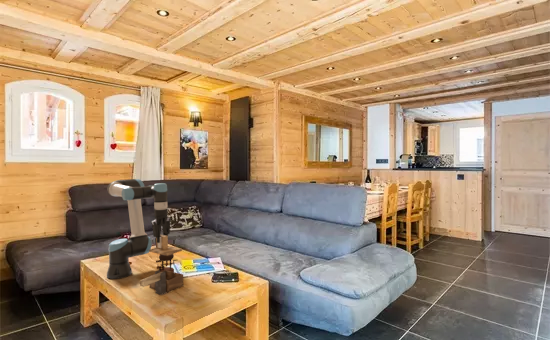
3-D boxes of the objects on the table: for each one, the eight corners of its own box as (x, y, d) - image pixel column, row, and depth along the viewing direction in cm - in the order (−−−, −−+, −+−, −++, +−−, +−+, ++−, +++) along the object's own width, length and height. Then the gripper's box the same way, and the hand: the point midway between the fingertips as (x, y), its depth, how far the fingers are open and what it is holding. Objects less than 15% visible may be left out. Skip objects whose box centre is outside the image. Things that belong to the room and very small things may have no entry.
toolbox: (144, 289, 186) (143, 269, 186) (165, 280, 199) (165, 261, 199) (162, 295, 178) (162, 273, 177) (183, 285, 191) (182, 265, 191)
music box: (157, 279, 201) (156, 248, 202) (153, 276, 210) (151, 246, 211) (181, 274, 210) (179, 244, 211) (176, 271, 219) (174, 242, 220)
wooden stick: (140, 285, 171) (140, 280, 171) (161, 277, 183) (161, 272, 183) (143, 286, 169) (143, 281, 169) (164, 278, 181) (164, 272, 181)
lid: (149, 251, 189) (148, 236, 188) (163, 247, 198) (163, 232, 198) (167, 255, 181) (166, 239, 180) (181, 250, 190) (181, 235, 190)
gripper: (154, 211, 181) (155, 251, 182) (175, 207, 195) (176, 244, 196) (145, 210, 185) (146, 249, 186) (167, 206, 199) (168, 243, 200)
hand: (162, 247), depth 191 cm, fingers closed on lid, 3 cm apart
